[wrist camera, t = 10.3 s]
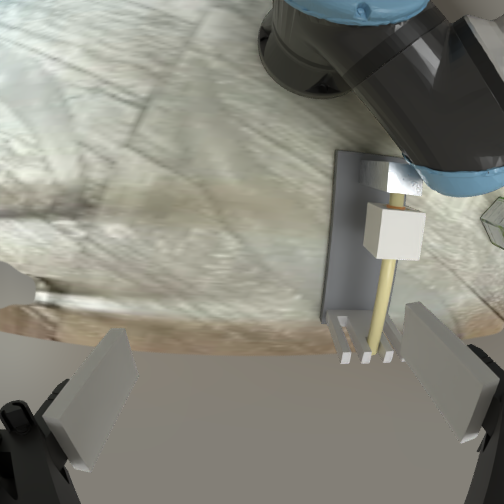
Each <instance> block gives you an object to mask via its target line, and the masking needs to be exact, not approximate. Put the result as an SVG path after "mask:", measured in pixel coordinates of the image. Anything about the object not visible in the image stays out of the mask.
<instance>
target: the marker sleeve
mask: <svg viewBox="0 0 504 504" xmlns="http://www.w3.org/2000/svg"><path fill="white" fill-rule="evenodd" d="M386 206H387V204H383V203H372V202H368V204H367V214H366V224H365V233H364V242H363V246H364V247H365V248H366V249H367V250H368V251H369V252H370V253H371V254H372V255H373V256H374V257H375V258H376V259H395V260H417V261H419V258H420V252H421V246H422V240H423V233H424V226H425V218H426V213H424V212H421V211H419V210H416V209H414V208H411V207H409V206H404V207H406V208H405V210H401V209H391V208H387V207H386Z"/></svg>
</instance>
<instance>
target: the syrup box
mask: <svg viewBox="0 0 504 504" xmlns="http://www.w3.org/2000/svg"><path fill="white" fill-rule="evenodd" d="M480 219H481V221H482V223H483V225H484V227H485V229H486V231H487V233H488V235H489V238H490V240H491V242H492V244H494V245H495V246H497V247H499V248H501V249H503V250H504V198H503V197H499V198H498V199H497V200H496V201H495V203H494V204H493V205H492V206H491V207H490V208H489V209H488V210H487V211H486V212H485V213H484V214H483V216H482V217H481V218H480Z"/></svg>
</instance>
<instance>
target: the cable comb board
mask: <svg viewBox="0 0 504 504" xmlns="http://www.w3.org/2000/svg"><path fill="white" fill-rule="evenodd" d="M422 188H423V179H422V178H421V176H420V175H419V174H418V172H417V171H416V170H415V168H414V167H413V166H412V165H409V163H408V162H407V161H406V160H405V158H398V157H391V156H383V155H376V154H368V153H359V152H350V151H340V150H336V152H335V171H334V187H333V201H332V214H331V225H330V236H329V247H328V257H327V266H326V275H325V283H324V292H323V300H322V307H321V315H320V321H321V324H327V326H328V327H329V330H330V333H331V336H332V339H333V342H334V345H335V348H336V351H337V354H338V357H339V360H340V363H341V364H349V361H350V357H351V350H350V347H349V345H348V342H347V340H346V337H345V335H344V332H343V330H342V327H341V326H346V328H347V331H348V333H349V335H350V338H351V340H352V342H353V345H354V347H355V350H356V352H357V354H358V357H359V359H360V361H361V363H369V362H370V358H371V355H375V354H377V351H378V353H379V355H380V357H381V359H382V361H383V363H385V362H391V359H392V356H393V352H394V350H393V349H392V347H391V345H390V344H389V342H388V340H387V339H386V337H385V335H384V334H383V332H382V330H383V331H384V333H385V334H386V336H387V338H388V339H389V341H390V343H391V344H392V346H393V348H394V349H395V351H396V353H397V354H398V356H399V358H400V359H401V361H405V360H404V358H403V357H402V356H401V354H400V351H401V344H402V334H401V333H400V331H399V330H398V328H397V327H396V326H395V324H394V323H393V321H392V320H391V318H390V316H389V315H388V310H389V305H390V300H391V295H392V290H393V285H394V279H395V274H396V268H397V262H398V260H395V259H376V258H375V257H374V256H373V255H372V254H371V253H370V252H369V251H368V250H367V249H366V248H365V247H364V246H363V242H364V233H365V224H366V214H367V204H368V202H372V203H383V204H387V206H386V207H387V208H391V209H401V210H405V208H406V207H404V206H405V202H406V194H409V195H417V196H422Z"/></svg>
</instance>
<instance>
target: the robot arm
mask: <svg viewBox="0 0 504 504" xmlns="http://www.w3.org/2000/svg"><path fill="white" fill-rule="evenodd" d="M445 19H446V18H445V16H444V15H443V14H442V13H441V12H440V11H439V10H438V8H437V7H436V6H435V5H434V4H433V3H432V2H431V1H430V0H273V9H272V10H271V11H270V12H269V13H268V14H267V15H266V17H265V18H264V20H263V22H262V24H261V27H260V30H259V35H258V47H259V54H260V58H261V61H262V63H263V65H264V67H265V69H266V71H267V72H268V73H269V75H270V76H271V77H272V78H273V79H274V80H275V81H276V82H277V83H278V84H280V85H281V86H282V87H284V88H285V89H287V90H289V91H291V92H293V93H295V94H297V95H300V96H304V97H308V98H314V99H328V98H334V97H338V96H341V95H343V94H346V93H348V92H349V91H351V90H353V91H354V92H355V93H356V94H357V96H358V97H359V98H360V99H361V100H362V101H363V103H364V104H365V105H366V106H367V107H368V109H369V110H370V111H371V112H372V114H373V115H374V116H375V117H376V118H377V120H378V121H379V122H380V123H381V125H382V126H383V127H384V129H385V130H386V131H387V132H388V134H389V135H390V136H391V138H392V139H393V140H394V142H395V143H396V144H397V146H398V147H399V148H400V150H401V151H402V155H403V157H404V158H405V160H406V161H407V162H408V163H409V164H410V165H412V166H413V167H414V168H415V170H416V171H417V172H418V174H419V175H420V176H421V178H422V179H423V180H424V182H425V183H426V184H427V185H428V186H429V187H430V188H431V189H433V190H436V191H437V192H438V193H441V194H443V195H446V196H451V197H472V196H478V195H482V194H486V193H489V192H492V191H495V190H497V189H499V188H501V187H503V186H504V14H503V15H502V16H501V17H498V18H497V19H495V20H486V19H483V18H479V17H475V16H472V15H468V14H467V15H465V16H463V17H462V18H460V19H459V20H457V21H456V22H454V23H449V21H448V20H447V19H446V20H445ZM444 20H445V21H444ZM410 44H411V45H410ZM399 52H400V53H399ZM395 55H396V56H395ZM391 58H392V59H391ZM387 61H388V62H387ZM378 68H379V69H378ZM374 71H375V72H374ZM370 74H371V75H370ZM369 75H370V76H369ZM366 77H367V78H366ZM365 78H366V79H365ZM400 354H401V356H402V357H403V358H404V360H405V361H406V363H407V364H408V365H409V367H410V368H411V370H412V371H413V373H414V374H415V375H416V377H417V379H418V380H419V381H420V383H421V384H422V386H423V387H424V389H425V390H426V392H427V393H428V395H429V396H430V398H431V399H432V401H433V402H434V404H435V405H436V407H437V408H438V410H439V411H440V413H441V414H442V416H443V418H444V419H445V420H446V422H447V424H448V425H449V427H450V428H451V430H452V432H453V433H454V435H455V436H456V438H457V439H458V441H459V443H460V444H461V443H463V442H466V441H468V440H471V439H474V438H476V437H477V435H478V433H479V431H480V428H481V426H482V427H483V428H484V429H485V431H486V434H485V436H484V438H483V440H482V442H481V444H480V446H479V448H478V450H477V452H479V451H480V454H479V458H478V462H477V465H476V469H475V472H474V475H473V479H472V482H471V485H470V488H469V491H468V494H467V497H466V500H465V503H464V504H504V371H503V370H502V369H501V368H500V367H499V366H498V365H497V364H496V363H495V362H493V360H492V359H491V358H490V357H488V355H487V354H486V353H485V352H484V351H483V350H482V349H480V348H478V347H476V346H474V345H472V344H470V345H465V344H464V343H463V342H462V341H461V340H460V339H459V338H458V337H457V336H456V335H455V334H454V333H453V332H452V331H451V330H450V329H449V328H448V327H447V326H446V325H445V324H443V323H442V322H441V321H440V320H439V319H438V318H437V317H436V316H435V315H434V314H433V313H432V312H430V311H429V310H428V309H427V308H426V307H425V306H424V305H423V304H422V303H421V302H414V303H408V304H406V307H405V318H404V327H403V336H402V344H401V351H400ZM138 377H139V374H138V371H137V368H136V365H135V361H134V358H133V355H132V351H131V348H130V344H129V341H128V337H127V334H126V330H125V328H111V329H110V330H109V332H108V333H107V334H106V335H105V336H104V338H103V339H102V340H101V341H100V342H99V344H98V345H97V346H96V347H95V349H94V350H93V351H92V352H91V354H90V355H89V356H88V357H87V359H86V360H85V361H84V362H83V364H82V365H81V366H80V367H79V369H78V370H77V371H76V372H75V374H74V375H73V376H72V377H71V379H66V380H65V381H63V382H62V383H60V384H59V385H58V386H57V387H56V388H55V389H54V391H53V392H52V394H51V395H50V396H49V397H48V400H46V401H45V402H44V403H43V405H42V406H41V407H40V409H39V410H38V411H37V412H36V414H35V415H34V416H33V414H32V412H31V410H30V408H29V407H28V405H27V403H26V402H24V401H20V400H16V401H11V402H9V403H7V404H6V405H4V406H3V407H2V408H1V410H0V419H1V421H2V423H3V424H4V426H5V428H6V430H5V429H4V430H1V429H0V504H81V503H80V501H79V498H78V496H77V493H76V491H75V488H74V486H73V484H72V481H71V478H70V475H69V473H68V471H67V469H66V467H65V466H64V465H65V463H66V461H67V459H68V460H69V461H70V463H71V464H72V466H73V467H74V468H75V469H78V470H82V471H87V472H91V471H92V469H93V467H94V465H95V463H96V461H97V459H98V456H99V454H100V452H101V450H102V448H103V446H104V444H105V442H106V440H107V438H108V436H109V434H110V432H111V430H112V427H113V426H114V424H115V422H116V420H117V418H118V416H119V414H120V412H121V410H122V408H123V406H124V404H125V402H126V400H127V398H128V396H129V394H130V392H131V390H132V388H133V386H134V384H135V382H136V381H137V379H138Z"/></svg>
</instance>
